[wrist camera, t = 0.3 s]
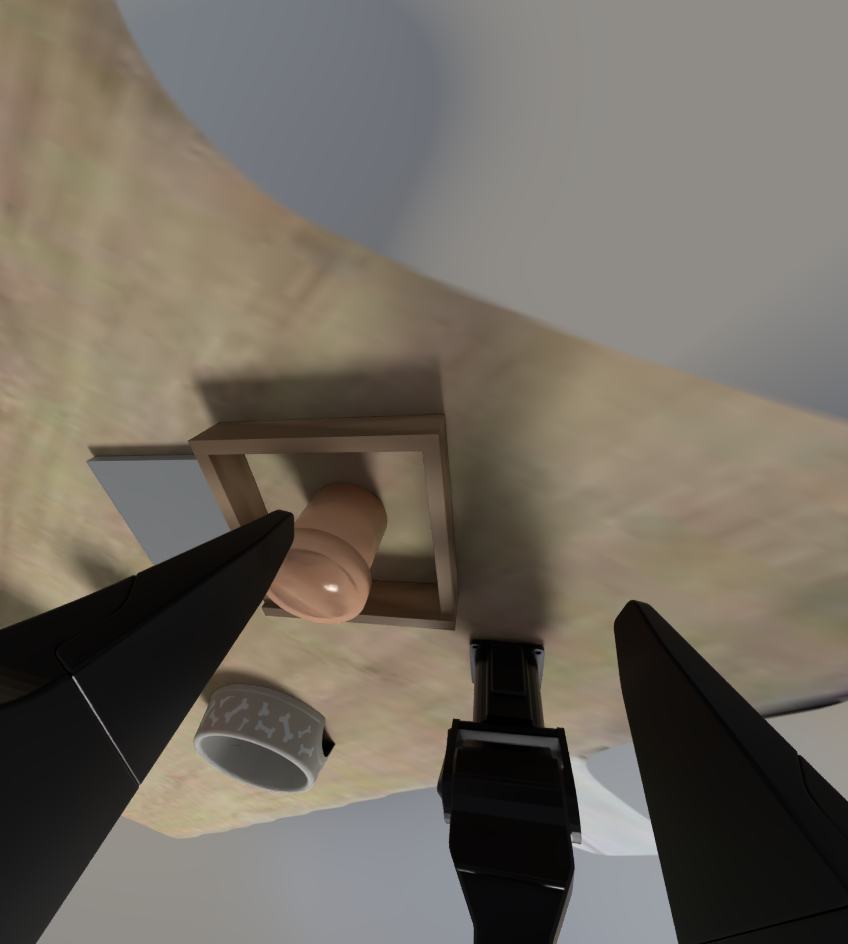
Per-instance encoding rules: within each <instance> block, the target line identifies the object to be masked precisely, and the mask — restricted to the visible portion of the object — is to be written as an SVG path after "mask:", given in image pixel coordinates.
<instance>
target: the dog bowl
mask: <svg viewBox="0 0 848 944" xmlns="http://www.w3.org/2000/svg"><path fill="white" fill-rule="evenodd" d="M324 725H325V717H324V716H323V715H321V714H320V713H319V712H318V711H316V710H315V709H313V708H312V707H310V706H309V705H307V704H305V703H303V702H302V701H300V700H298V699H296V698H294V697H291V696H289V695H287V694H284V693H282V692H279V691H276V690H273V689H270V688H266V687H261V686H256V685H249V684H231V685H226V686H223V687H221V688H219V689H217V690H216V691H215V692H214V693H213V695H212V697H211V699H210V703H209V705H208V707H207V710H206V712H205V714H204V717H203V719H202V721H201V723H200V726H199V728H198V730H197V732H196V735H195V737H194V746H195V749H196V751H197V752H198V754H199V755H200V756H201V757H202V758H203V759H204V760H205V761H206V762H207V763H209V764H210V765H211V766H213V767H214V768H216V769H217V770H219V771H220V772H222V773H224V774H226V775H228V776H230V777H232V778H234V779H236V780H238V781H241V782H243V783H245V784H248V785H251V786H253V787H257V788H260V789H264V790H268V791H272V792H278V793H288V794H293V793H301V792H305V791H307V790H309V789H310V788H311V787H312V786H313V785H314V783H315V781H316V779H317V777H318V775H319V773H320V771H321V769H322V768H323V766H324V764H325V762H326V760H327V759H328V757H329V755H330V753H331V752H332V750H333V748H334V746H335V745H334V746H333V747H332V748H331V749H329V750H328V751H326V752H323V750H322V734H323V729H324Z"/></svg>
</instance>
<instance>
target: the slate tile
mask: <svg viewBox="0 0 848 944" xmlns="http://www.w3.org/2000/svg"><path fill="white" fill-rule="evenodd" d="M86 462H87V464H88V465H89V467H90V468H91V470H92V471H93V473H94V474H95V476H96V478H97V479H98V481H99V482H100V484H101V485H102V487H103V488H104V490H105V491H106V493H107V494H108V496H109V497H110V499H111V500H112V502H113V504H114V505H115V507H116V508H117V510H118V511H119V513H120V514H121V516H122V517H123V519H124V520H125V522H126V523H127V525H128V526H129V528H130V530H131V531H132V533H133V534H134V536H135V537H136V539H137V540H138V542H139V543H140V545H141V546H142V548H143V549H144V551H145V552H146V554H147V555H148V557H149V559H150V560H151V562H152V563H153V564H159V563H161V562H163V561H166V560H168V559H170V558H172V557H174V556H177V555H179V554H181V553H183V552H185V551H188V550H190V549H192V548H194V547H196V546H199V545H201V544H203V543H205V542H207V541H210V540H212V539H214V538H216V537H218V536H220V535H223V534H225V533H227V532H229V531H230V528H229V526H228V524H227V522H226V520H225V518H224V516H223V514H222V512H221V510H220V507H219V505H218V503H217V501H216V499H215V497H214V495H213V493H212V491H211V489H210V486H209V484H208V482H207V480H206V478H205V476H204V474H203V472H202V470H201V468H200V465H199V463H198V461H197V459H196V457H195V455H154V456H98V457H94V458H92V459H90V460H88V461H86Z"/></svg>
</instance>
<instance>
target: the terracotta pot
mask: <svg viewBox="0 0 848 944" xmlns="http://www.w3.org/2000/svg"><path fill="white" fill-rule="evenodd" d="M386 527H387V515H386V511H385V509H384V507H383V505H382V504H381V502H380V501H379V500H378V499H377V498H376V497H375V496H374V495H373V494H372V493H371V492H369V491H368V490H366V489H364V488H362V487H360V486H358V485H355V484H351V483H342V482H340V483H332V484H329V485H326V486H324V487H323V488H321V489H320V490H319V491H318V492H317V493H316V495H315V496H314V497H313V499H312V500H311V501H310V503H309V504H308V505H307V507H306V508H305V509H304V511H303V512H302V513H301V515H300V516H299V517H298V519H297V520H296V521H295V523H294V540H293V543H292V546H291V548H290V549H289V551H288V553H287V555H286V557H285V559H284V561H283V563H282V565H281V567H280V569H279V571H278V573H277V575H276V577H275V579H274V581H273V583H272V585H271V586H270V588H269V590H268V592H267V595H268V597H269V598H270V599H271V600H272V601H273V602H275V603H276V604H277V605H278V606H280V607H281V608H283V609H284V610H286V611H287V612H289V613H291V614H293V615H295V616H297V617H300V618H303V619H305V620H309V621H313V622H318V623H329V624H332V623H341V622H345V621H348V620H350V619H353V618H354V617H356V616H357V615H358V614H359V613H360V612H361V611H362V610H363V608H364V606H365V603H366V601H367V598H368V595H369V592H370V590H371V586H372V576H371V572H370V568H371V566H372V563H373V560H374V558H375V555H376V553H377V550H378V548H379V545H380V543H381V540H382V537H383V535H384V532H385V530H386Z"/></svg>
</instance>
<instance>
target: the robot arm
mask: <svg viewBox="0 0 848 944" xmlns="http://www.w3.org/2000/svg"><path fill="white" fill-rule="evenodd" d="M293 540H294V515H293V514H292V513H291V512H287V511H283V510H276V511H273V512H271V513H269V514H267V515H264V516H262V517H260V518H258V519H256V520H253V521H251V522H249V523H247V524H245V525H242V526H240V527H238V528H236V529H234V530H231V531H229V532H227V533H225V534H223V535H220V536H218V537H216V538H214V539H212V540H210V541H207V542H205V543H203V544H201V545H199V546H196V547H194V548H192V549H190V550H188V551H185V552H183V553H181V554H179V555H177V556H174V557H172V558H170V559H168V560H166V561H163V562H161V563H159V564H157V565H155V566H152V567H150V568H148V569H146V570H144V571H141V572H139V573H138V574H137V575H136V576H135V575H132V576H130V577H128V578H126V579H124V580H121V581H119V582H117V583H115V584H112V585H110V586H108V587H106V588H103V589H101V590H99V591H96V592H94V593H92V594H89V595H87V596H85V597H82V598H80V599H77V600H75V601H72V602H70V603H67V604H65V605H62V606H60V607H57V608H55V609H52V610H50V611H47V612H45V613H42V614H40V615H37V616H34V617H32V618H29V619H27V620H24V621H21V622H19V623H16V624H14V625H11V626H8V627H6V628H3V629H1V630H0V944H36V942H37V941H38V940H39V938H40V937H41V935H42V934H43V932H44V931H45V929H46V928H47V926H48V925H49V923H50V922H51V920H52V919H53V917H54V916H55V914H56V912H57V911H58V909H59V908H60V906H61V905H62V903H63V902H64V900H65V899H66V897H67V896H68V894H69V893H70V891H71V890H72V888H73V887H74V885H75V883H76V882H77V881H78V879H79V878H80V876H81V875H82V873H83V872H84V870H85V868H86V867H87V866H88V864H89V862H90V861H91V859H92V858H93V857H94V855H95V853H96V852H97V850H98V849H99V847H100V846H101V844H102V843H103V841H104V840H105V838H106V837H107V835H108V834H109V832H110V831H111V829H112V828H113V826H114V824H115V823H116V822H117V820H118V819H119V817H120V816H121V814H122V813H123V811H124V810H125V808H126V807H127V805H128V804H129V802H130V800H131V799H132V797H133V796H134V794H135V793H136V791H137V790H138V788H139V785H140V784H141V783H142V782H143V780H144V779H145V777H146V776H147V774H148V773H149V771H150V770H151V768H152V767H153V765H154V764H155V762H156V761H157V759H158V758H159V756H160V755H161V753H162V752H163V750H164V749H165V747H166V746H167V744H168V743H169V741H170V740H171V738H172V736H173V735H174V733H175V732H176V730H177V729H178V727H179V726H180V724H181V723H182V721H183V720H184V718H185V717H186V715H187V714H188V712H189V711H190V709H191V708H192V706H193V705H194V703H195V702H196V700H197V699H198V697H199V696H200V694H201V693H202V691H203V690H204V688H205V687H206V685H207V684H208V682H209V680H210V679H211V677H212V676H213V674H214V673H215V671H216V670H217V668H218V667H219V665H220V664H221V662H222V661H223V659H224V658H225V656H226V655H227V653H228V652H229V650H230V649H231V647H232V646H233V644H234V643H235V641H236V640H237V638H238V637H239V635H240V634H241V632H242V631H243V629H244V628H245V626H246V624H247V623H248V621H249V620H250V618H251V617H252V615H253V614H254V612H255V611H256V609H257V608H258V606H259V605H260V603H261V602H262V600H263V599H264V597H265V595H266V594H267V592H268V590H269V588H270V586H271V585H272V583H273V581H274V579H275V577H276V575H277V573H278V571H279V569H280V567H281V565H282V563H283V561H284V559H285V557H286V555H287V553H288V551H289V549H290V548H291V546H292V543H293ZM614 634H615V642H616V651H617V659H618V668H619V676H620V683H621V689H622V694H623V699H624V704H625V708H626V713H627V717H628V722H629V726H630V730H631V735H632V739H633V744H634V748H635V753H636V757H637V761H638V766H639V771H640V774H641V779H642V784H643V788H644V793H645V797H646V802H647V806H648V811H649V815H650V819H651V824H652V828H653V833H654V837H655V842H656V846H657V851H658V855H659V859H660V863H661V868H662V873H663V877H664V881H665V886H666V891H667V895H668V900H669V904H670V908H671V913H672V917H673V922H674V926H675V930H676V935H677V940H678V944H848V801H847V800H846V799H845V798H843V796H842V795H841V794H840V793H839V792H838V791H837V790H836V789H835V788H833V787H832V786H831V785H830V784H829V783H828V782H827V781H826V780H825V779H824V778H823V777H822V776H821V775H820V774H819V773H818V772H817V771H816V770H815V769H814V768H813V767H812V766H811V765H810V764H809V763H808V762H807V761H806V760H805V759H804V758H803V757H802V756H801V755H798V753H797V751H796V750H795V749H794V748H793V747H792V746H791V745H790V744H789V743H788V742H787V741H786V740H785V739H784V738H783V737H782V736H781V735H780V734H779V733H778V732H777V731H776V730H775V729H774V728H773V727H772V726H771V725H770V724H769V723H768V722H767V721H766V720H765V719H764V718H763V717H762V716H761V715H760V714H759V713H758V712H757V711H756V710H755V709H754V708H753V707H752V706H751V705H750V704H749V703H748V702H747V701H746V700H745V699H744V698H743V697H742V696H741V695H740V694H739V693H738V692H737V691H736V690H735V689H734V688H733V687H732V686H731V685H730V684H729V683H728V682H727V681H726V680H725V679H724V678H723V677H722V676H721V675H720V674H719V673H718V672H717V671H716V670H715V669H714V668H713V667H712V666H711V665H710V664H709V663H708V662H707V661H706V660H705V659H704V658H703V657H702V656H701V655H700V654H699V653H698V652H697V651H696V650H695V649H694V648H693V647H692V646H691V645H690V644H689V643H688V642H687V641H686V640H685V639H684V638H683V637H682V636H681V635H680V634H679V633H678V632H677V631H676V630H675V629H674V628H673V627H672V626H671V625H670V624H669V623H668V622H667V621H666V620H665V619H664V618H663V617H662V616H661V615H660V614H659V613H658V612H657V611H656V610H655V609H654V608H653V607H652V606H650V605H649V604H647V603H644V602H640V601H636V600H630V601H629V602H628V603H627V604H626V605H625V607H624V608H623V609H622V611H621V612H620V613H619V615H618V616H617V618H616V619H615V622H614ZM544 654H545V653H544V648H543V647H542V646H540V645H530V644H518V643H506V642H494V641H482V640H472V641H471V642H470V658H471V675H472V683H473V684H474V707H473V722H472V721H460V719H453V722H452V728H450V729H448V737H447V747H446V754H445V758H444V762H443V765H442V769H441V773H440V776H439V780H438V785H437V792H438V794H439V795H440V797H441V799H442V804H443V809H444V819H445V822H446V823H447V824H450V833H449V849H450V853H451V856H452V859H453V862H454V866H455V869H456V872H457V875H458V878H459V881H460V884H461V887H462V891H463V893H464V897H465V900H466V903H467V906H468V910H469V913H470V916H471V919H472V922H473V926H474V944H556V943H557V940H558V937H559V933H560V930H561V927H562V924H563V921H564V917H565V914H566V911H567V908H568V904H569V901H570V898H571V895H572V890H573V880H574V869H575V867H574V857H573V849H572V843H577V844H581V826H580V817H579V809H578V802H577V795H576V789H575V783H574V778H573V773H572V767H571V762H570V757H569V752H568V746H567V741H566V736H565V731H564V728H559V727H557V729H554V728H545V727H544V718H543V709H542V701H541V692H540V689H541V681H542V672H543V663H544Z"/></svg>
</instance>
